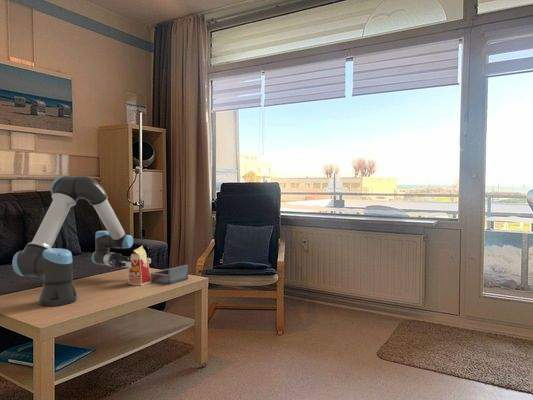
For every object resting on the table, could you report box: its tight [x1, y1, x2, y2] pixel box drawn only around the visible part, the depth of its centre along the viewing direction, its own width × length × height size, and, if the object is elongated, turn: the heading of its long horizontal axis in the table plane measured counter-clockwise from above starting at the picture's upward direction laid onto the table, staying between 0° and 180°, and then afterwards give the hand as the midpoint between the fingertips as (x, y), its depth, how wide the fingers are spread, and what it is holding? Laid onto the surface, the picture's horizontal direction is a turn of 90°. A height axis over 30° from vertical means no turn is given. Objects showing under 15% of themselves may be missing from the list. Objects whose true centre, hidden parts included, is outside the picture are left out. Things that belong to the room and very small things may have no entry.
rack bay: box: [150, 264, 189, 285], centre depth 220 cm, size 14×15×8 cm
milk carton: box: [128, 245, 152, 286], centre depth 213 cm, size 9×9×20 cm
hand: (140, 262), depth 213 cm, fingers open, 13 cm apart
